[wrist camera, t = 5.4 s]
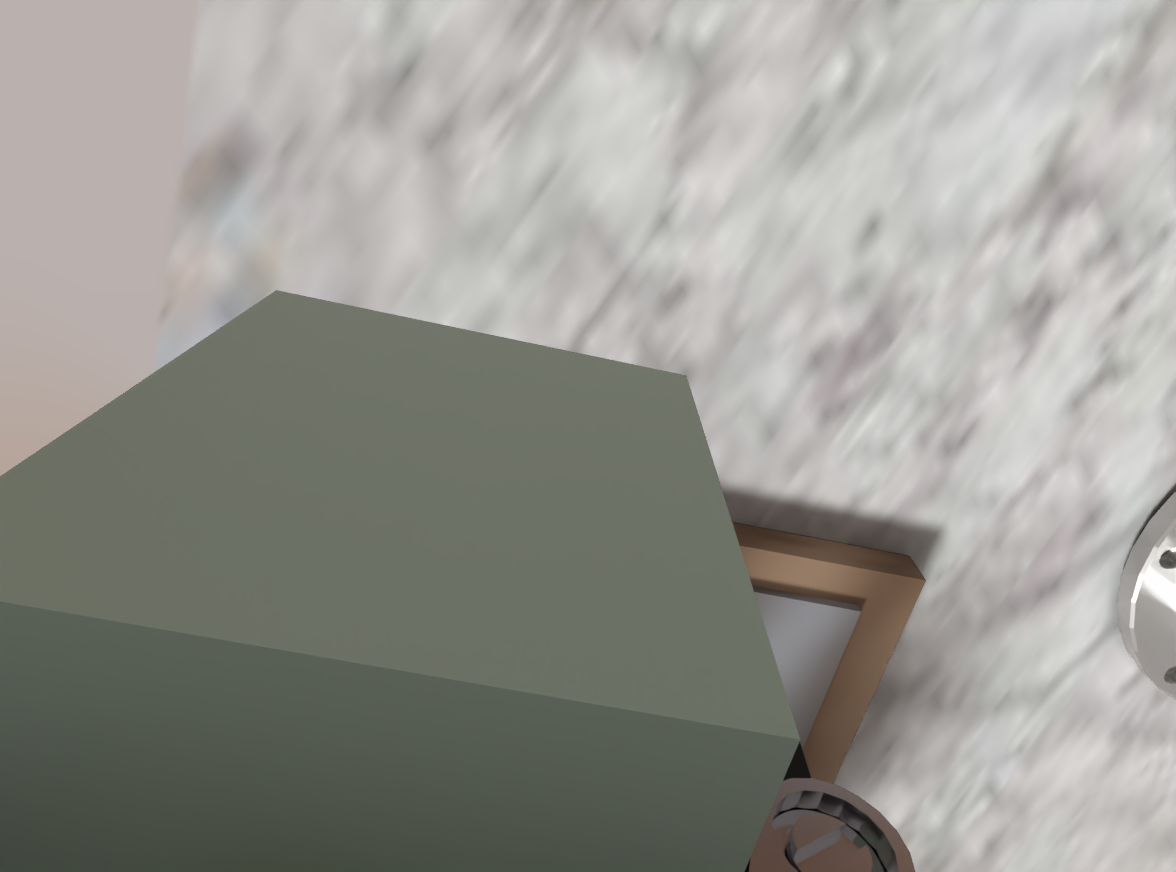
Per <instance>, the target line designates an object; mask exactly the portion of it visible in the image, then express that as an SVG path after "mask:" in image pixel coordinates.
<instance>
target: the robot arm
mask: <svg viewBox="0 0 1176 872" xmlns="http://www.w3.org/2000/svg"><path fill="white" fill-rule="evenodd" d="M1117 615H1118V627H1119V630H1120V633H1121V636H1122V639H1123V642H1124V645H1125V647H1126V649H1127V651H1128V652H1129V654H1130V655H1131V657H1132V658H1133V659H1134V661H1135V662H1136V664H1137V665H1138V667H1139V668H1140V669H1141V670H1142V671H1143V672H1144V673H1145V674H1146V675H1147V676H1148V677H1149V679H1150V680H1151V681H1152V682H1153V683H1154V684H1155V685H1156V686H1157V687H1158V688H1159V689H1161V690H1162V691H1164V692H1165V693H1167V694H1168V695H1170V696H1171V697H1173V698H1174V699H1176V492H1175V493H1174V494H1172V496H1171V497H1170V498H1169V499H1168V500H1167V501H1166V502H1165V504H1164V505H1163V506H1162V507H1161V508H1160V509H1159V510H1158V511H1157V513H1156V514H1155V515H1154V516H1153V517H1152V518H1151V519H1150V521H1149V522H1148V524H1147V525H1146V527H1145V529H1144V530H1143V532H1142V533H1141V535H1140V536H1139V538H1138V540H1137V541H1136V543H1135V544H1134V546H1133V548H1132V550H1131V552H1130V555H1129V557H1128V560H1127V562H1126V565H1125V567H1124V570H1123V572H1122V575H1121V580H1120V585H1119V591H1118V597H1117ZM745 872H915V869H914V865H913V862H912V858H911V854H910V852H909V850H908V848H907V847H906V845H905V843H904V842H903V840H902V838H901V837H900V835H899V833H898V832H897V830H896V829H895V828H894V827H893V826H892V825H891V824H890V823H889V822H888V821H887V820H886V818H885V817H884V816H883V815H882V814H881V813H880V812H879V811H878V810H876V809H875V808H874V807H872V806H871V805H870V804H868V803H867V802H866V801H864V800H863V799H862V798H860V797H859V796H858V795H855V794H853V793H851V792H849V791H847V790H845V789H843V788H841V787H839V786H837V785H835V784H832V783H828V782H824V781H820V780H817V779H813V778H811V776H810V773H809V769H808V766H807V763H806V760H805V756H804V753H803V750H802V747H801V744H800V741H799V744H798V746H797V749H796V751H795V753H794V756H793V758H792V760H791V763H790V765H789V767H788V770H787V772H786V775H785V777H784V779H783V782H782V784H781V786H780V789H779V791H778V794H777V796H776V798H775V801H774V803H773V805H772V808H771V810H770V812H769V815H768V817H767V820H766V822H765V824H764V827H763V829H762V831H761V834H760V836H759V839H758V841H757V843H756V846H755V848H754V850H753V853H752V855H751V857H750V860H749V862H748V865H747V867H746V869H745Z"/></svg>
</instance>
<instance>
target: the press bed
mask: <svg viewBox="0 0 1176 872" xmlns="http://www.w3.org/2000/svg"><path fill="white" fill-rule="evenodd" d="M732 523H733V522H732ZM733 526H734V530H735V533H736V536H737V539H738V542H739V546H740V549H741V552H742V555H743V558H744V562H745V565H746V568H747V571H748V574H749V578H750V581H751V584H752V587H753V590H754V594H755V597H756V600H757V603H758V606H759V609H760V613H761V616H762V619H763V622H764V625H765V629H766V632H767V635H768V638H769V641H770V645H771V648H772V651H773V654H774V657H775V661H776V664H777V667H778V670H779V673H780V677H781V680H782V683H783V686H784V689H785V692H786V696H787V699H788V702H789V705H790V708H791V712H792V715H793V718H794V721H795V724H796V728H797V731H798V734H799V737H800V744H801V747H802V750H803V753H804V756H805V760H806V763H807V766H808V769H809V773H810V776H811V778H813V779H817V780H820V781H824V782H828V783H832V784H833V782H834V780H835V778H836V775H837V773H838V771H839V769H840V767H841V764H842V762H843V760H844V758H845V756H846V754H847V751H848V749H849V747H850V745H851V743H852V740H853V738H854V736H855V734H856V732H857V730H858V727H859V725H860V723H861V721H862V719H863V716H864V714H865V712H866V710H867V708H868V706H869V703H870V701H871V699H872V697H873V695H874V692H875V690H876V688H877V686H878V684H879V682H880V679H881V677H882V675H883V673H884V671H885V668H886V666H887V664H888V662H889V660H890V658H891V655H892V653H893V651H894V649H895V647H896V644H897V642H898V640H899V638H900V636H901V633H902V631H903V629H904V627H905V625H906V623H907V620H908V618H909V616H910V614H911V612H912V609H913V607H914V605H915V603H916V601H917V599H918V596H919V594H920V592H921V590H922V588H923V585H924V583H925V581H926V580H925V579H924V577H923V576H922V574H921V573H920V571H919V570H918V568H917V567H916V565H915V564H914V562H913V561H912V559H911V558H910V556H907V555H901V554H896V553H891V552H885V551H880V550H875V549H870V548H864V547H859V546H854V545H849V544H843V543H838V542H833V541H828V540H822V539H817V538H812V537H806V536H801V535H796V534H791V533H785V532H780V531H775V530H770V529H764V528H759V527H754V526H749V525H743V524H738V523H733Z"/></svg>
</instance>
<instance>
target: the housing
mask: <svg viewBox="0 0 1176 872" xmlns="http://www.w3.org/2000/svg"><path fill="white" fill-rule="evenodd" d="M799 741H800V737H799V734H798V731H797V728H796V724H795V721H794V718H793V715H792V712H791V708H790V705H789V702H788V699H787V696H786V692H785V689H784V686H783V683H782V680H781V677H780V673H779V670H778V667H777V664H776V661H775V657H774V654H773V651H772V648H771V645H770V641H769V638H768V635H767V632H766V629H765V625H764V622H763V619H762V616H761V613H760V609H759V606H758V603H757V600H756V597H755V594H754V590H753V587H752V584H751V581H750V578H749V574H748V571H747V568H746V565H745V562H744V558H743V555H742V552H741V549H740V546H739V542H738V539H737V536H736V533H735V530H734V526H733V523H732V520H731V517H730V514H729V510H728V507H727V504H726V501H725V498H724V495H723V491H722V488H721V485H720V482H719V479H718V475H717V472H716V469H715V466H714V463H713V459H712V456H711V453H710V450H709V447H708V443H707V440H706V437H705V434H704V431H703V427H702V424H701V421H700V418H699V415H698V412H697V408H696V405H695V402H694V399H693V396H692V392H691V389H690V386H689V383H688V380H687V376H686V375H681V374H676V373H671V372H667V371H662V370H657V369H652V368H647V367H643V366H638V365H633V364H628V363H623V362H619V361H614V360H609V359H604V358H599V357H594V356H590V355H585V354H580V353H575V352H570V351H566V350H561V349H556V348H551V347H546V346H542V345H537V344H532V343H527V342H522V341H518V340H513V339H508V338H503V337H498V336H494V335H489V334H484V333H479V332H474V331H470V330H465V329H460V328H455V327H450V326H445V325H441V324H436V323H431V322H426V321H421V320H417V319H412V318H407V317H402V316H397V315H393V314H388V313H383V312H378V311H373V310H369V309H364V308H359V307H354V306H349V305H345V304H340V303H335V302H330V301H325V300H321V299H316V298H311V297H306V296H301V295H297V294H292V293H287V292H282V291H277V290H276V291H275V292H273V293H272V294H270V295H269V296H267V297H266V298H264V299H263V300H261V301H260V302H258V303H257V304H255V305H254V306H252V307H251V308H249V309H248V310H246V311H245V312H243V313H242V314H240V315H239V316H237V317H236V318H235V319H233V320H232V321H230V322H229V323H227V324H226V325H224V326H223V327H221V328H220V329H218V330H217V331H215V332H214V333H212V334H211V335H209V336H208V337H206V338H205V339H203V340H202V341H200V342H199V343H197V344H196V345H194V346H193V347H191V348H190V349H189V350H187V351H186V352H184V353H183V354H181V355H180V356H178V357H177V358H175V359H174V360H172V361H171V362H169V363H168V364H166V365H165V366H163V367H162V368H160V369H159V370H157V371H156V372H154V373H153V374H151V375H150V376H148V377H147V378H145V379H144V380H143V381H141V382H140V383H138V384H137V385H135V386H134V387H132V388H131V389H129V390H128V391H126V392H125V393H123V394H122V395H120V396H119V397H117V398H116V399H114V400H113V401H111V402H110V403H108V404H107V405H105V406H104V407H103V408H101V409H99V410H98V411H97V412H95V413H94V414H92V415H91V416H89V417H88V418H86V419H85V420H83V421H82V422H80V423H79V424H77V425H76V426H74V427H73V428H71V429H70V430H68V431H67V432H65V433H64V434H63V435H61V436H59V437H58V438H56V439H55V440H53V441H52V442H51V443H49V444H48V445H46V446H45V447H43V448H42V449H40V450H39V451H37V452H36V453H34V454H33V455H31V456H30V457H28V458H27V459H25V460H24V461H22V462H21V463H19V464H18V465H16V466H15V467H13V468H12V469H10V470H9V471H8V472H6V473H5V474H3V475H2V476H0V872H745V869H746V867H747V865H748V862H749V860H750V857H751V855H752V853H753V850H754V848H755V846H756V843H757V841H758V839H759V836H760V834H761V831H762V829H763V827H764V824H765V822H766V820H767V817H768V815H769V812H770V810H771V808H772V805H773V803H774V801H775V798H776V796H777V794H778V791H779V789H780V786H781V784H782V782H783V779H784V777H785V775H786V772H787V770H788V767H789V765H790V763H791V760H792V758H793V756H794V753H795V751H796V749H797V746H798V744H799Z"/></svg>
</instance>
